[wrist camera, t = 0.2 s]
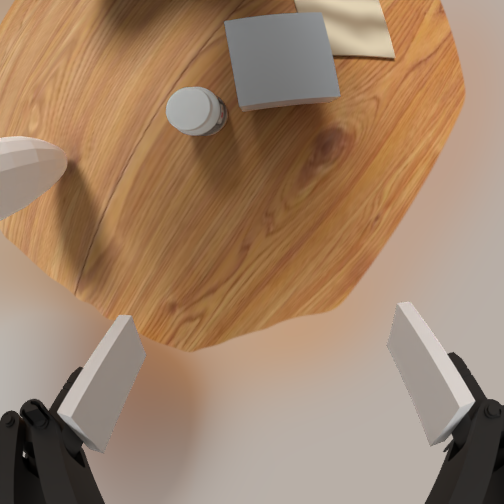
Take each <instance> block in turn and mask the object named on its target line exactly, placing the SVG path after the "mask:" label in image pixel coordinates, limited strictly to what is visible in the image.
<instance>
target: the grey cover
mask: <svg viewBox="0 0 504 504" xmlns="http://www.w3.org/2000/svg"><path fill="white" fill-rule="evenodd" d="M224 25H225V31H226V36H227V41H228V47H229V52H230V58H231V63H232V69H233V74H234V80H235V86H236V91H237V97H238V103H239V107H240V109H241V110H242V111H243V112H245V111H252V110H258V109H265V108H273V107H281V106H290V105H300V104H313V103H328V102H331V101H333V100H335V99H337V98H339V97H341V96H340V90H339V85H338V80H337V75H336V70H335V65H334V60H333V56H332V51H331V47H330V43H329V39H328V35H327V31H326V27H325V23H324V19H323V16H322V12H308V13H285V14H273V15H263V16H255V17H247V18H241V19H235V20H229V21H224Z"/></svg>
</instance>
